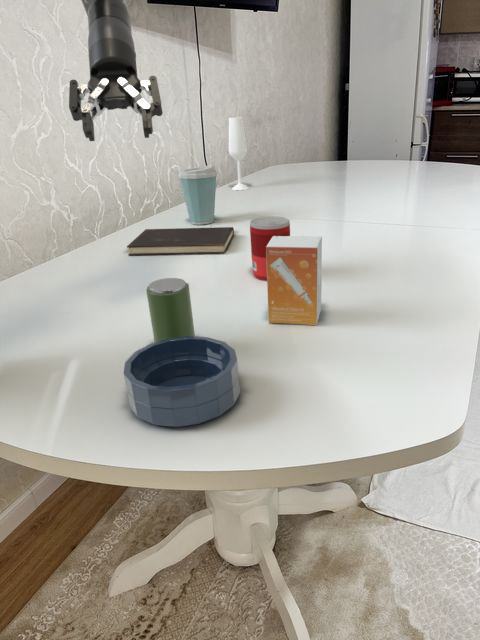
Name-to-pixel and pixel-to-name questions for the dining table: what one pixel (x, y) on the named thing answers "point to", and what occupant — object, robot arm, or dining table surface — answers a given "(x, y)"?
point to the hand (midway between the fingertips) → (119, 136)
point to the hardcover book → (182, 241)
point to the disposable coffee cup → (199, 193)
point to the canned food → (265, 240)
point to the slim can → (170, 309)
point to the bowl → (182, 380)
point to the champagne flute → (237, 146)
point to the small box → (294, 279)
